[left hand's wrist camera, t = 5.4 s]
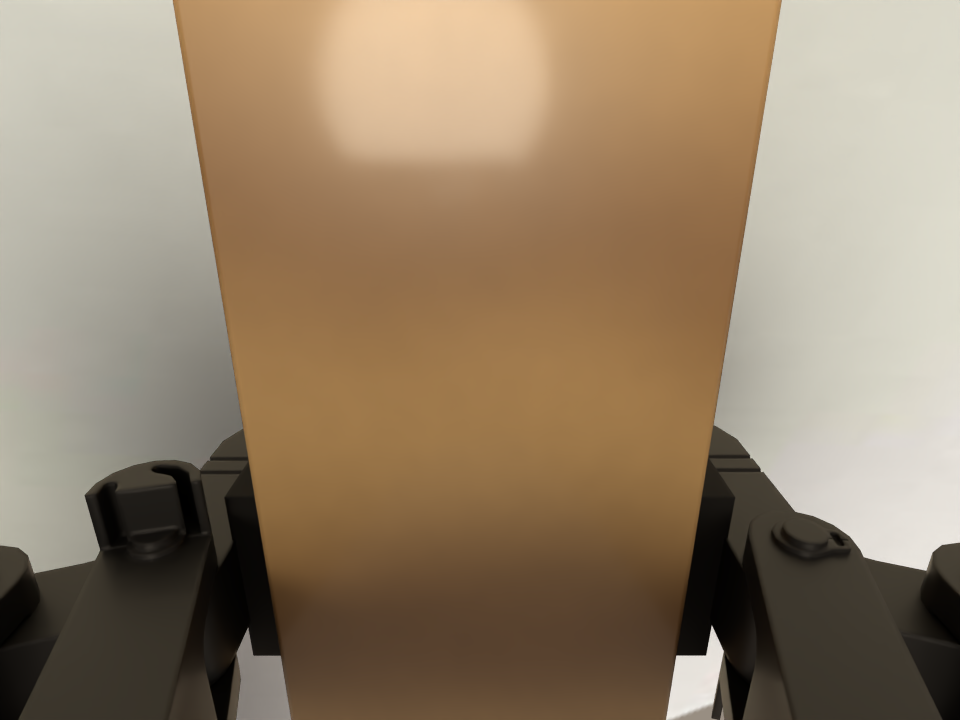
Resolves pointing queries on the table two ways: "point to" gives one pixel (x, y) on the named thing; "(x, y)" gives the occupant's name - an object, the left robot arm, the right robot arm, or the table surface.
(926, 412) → the table surface
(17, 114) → the table surface
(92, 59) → the table surface
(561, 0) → the bar
